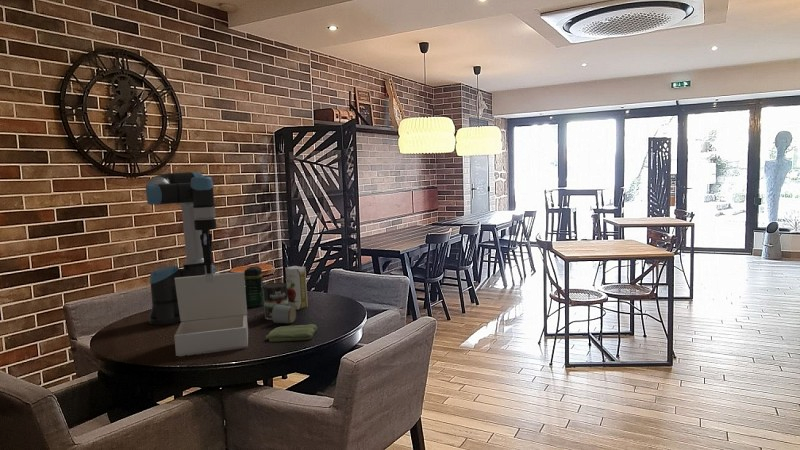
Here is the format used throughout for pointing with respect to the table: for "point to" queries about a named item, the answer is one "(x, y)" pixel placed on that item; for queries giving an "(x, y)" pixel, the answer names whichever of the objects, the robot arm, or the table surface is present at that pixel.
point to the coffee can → (274, 297)
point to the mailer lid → (211, 296)
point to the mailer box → (211, 335)
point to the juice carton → (296, 287)
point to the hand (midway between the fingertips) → (209, 281)
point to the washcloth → (292, 333)
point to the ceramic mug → (283, 314)
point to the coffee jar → (254, 286)
